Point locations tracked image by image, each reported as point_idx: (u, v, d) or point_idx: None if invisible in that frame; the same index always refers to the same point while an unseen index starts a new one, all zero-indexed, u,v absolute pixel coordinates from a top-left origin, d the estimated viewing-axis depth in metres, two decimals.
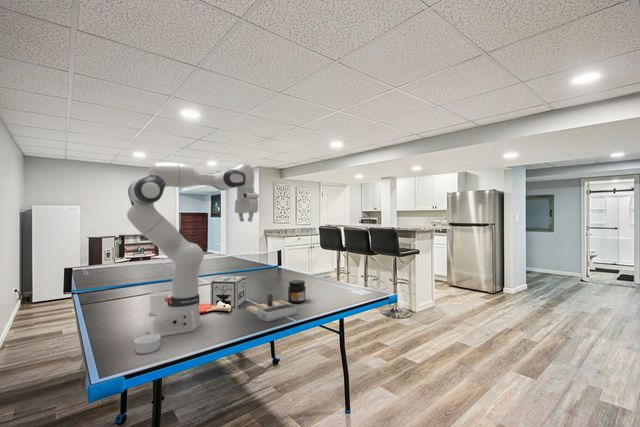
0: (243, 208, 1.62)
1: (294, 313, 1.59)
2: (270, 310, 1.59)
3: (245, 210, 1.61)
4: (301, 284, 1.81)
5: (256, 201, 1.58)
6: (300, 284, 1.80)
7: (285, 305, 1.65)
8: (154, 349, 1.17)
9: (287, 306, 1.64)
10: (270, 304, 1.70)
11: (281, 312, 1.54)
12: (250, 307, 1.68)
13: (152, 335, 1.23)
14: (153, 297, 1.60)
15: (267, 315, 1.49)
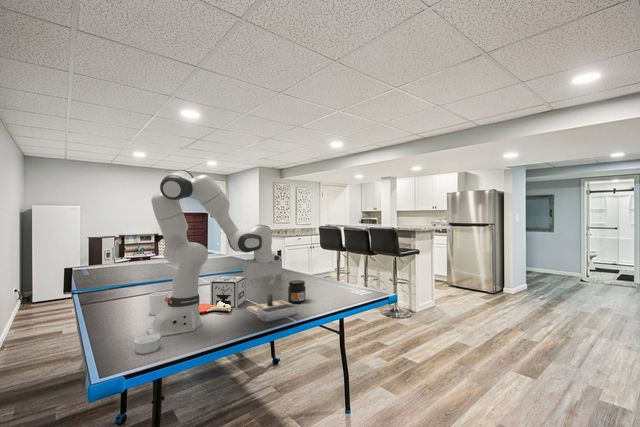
0: (267, 271, 1.52)
1: (294, 313, 1.59)
2: (270, 310, 1.59)
3: (270, 273, 1.53)
4: (301, 284, 1.81)
5: None
6: (300, 284, 1.80)
7: (285, 305, 1.65)
8: (154, 349, 1.17)
9: (287, 306, 1.64)
10: (270, 304, 1.70)
11: (281, 312, 1.54)
12: (250, 307, 1.68)
13: (152, 335, 1.23)
14: (153, 297, 1.60)
15: (267, 315, 1.49)
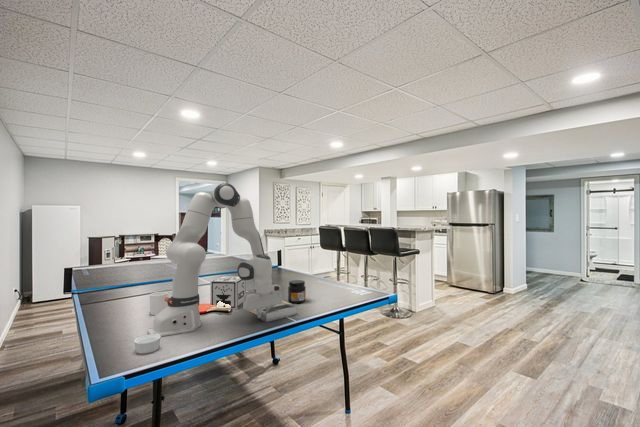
0: (267, 302, 1.52)
1: (294, 313, 1.59)
2: (270, 310, 1.59)
3: (270, 304, 1.53)
4: (301, 284, 1.81)
5: None
6: (300, 284, 1.80)
7: (285, 305, 1.65)
8: (154, 349, 1.17)
9: (287, 306, 1.64)
10: None
11: (281, 312, 1.54)
12: None
13: (152, 335, 1.23)
14: (153, 297, 1.60)
15: (267, 315, 1.49)
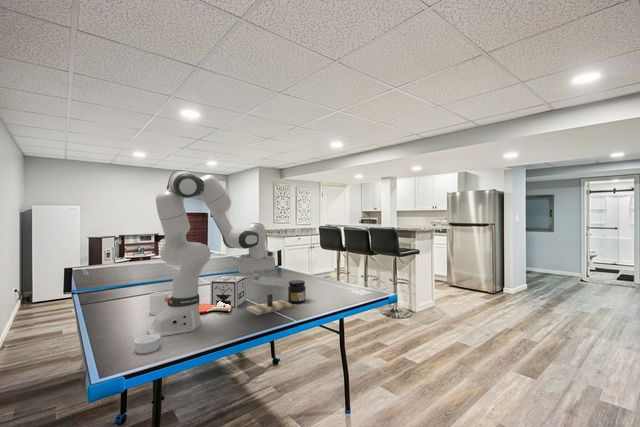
0: (261, 266, 1.64)
1: (285, 284, 1.70)
2: None
3: (264, 268, 1.65)
4: (301, 284, 1.81)
5: None
6: (300, 284, 1.80)
7: (278, 277, 1.76)
8: (154, 349, 1.17)
9: None
10: (270, 304, 1.70)
11: (274, 280, 1.66)
12: (250, 307, 1.68)
13: (152, 335, 1.23)
14: (153, 297, 1.60)
15: (261, 278, 1.61)
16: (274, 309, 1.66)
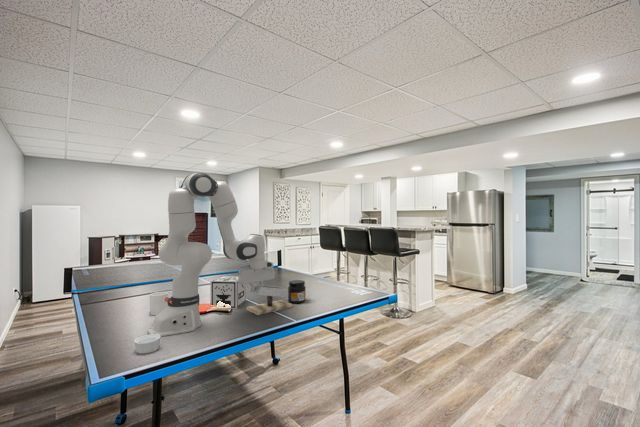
0: (260, 277, 1.65)
1: (284, 295, 1.72)
2: None
3: (263, 278, 1.67)
4: (301, 284, 1.81)
5: None
6: (300, 284, 1.80)
7: (277, 288, 1.78)
8: (154, 349, 1.17)
9: (279, 289, 1.77)
10: (270, 304, 1.70)
11: (273, 290, 1.67)
12: (250, 307, 1.68)
13: (152, 335, 1.23)
14: (153, 297, 1.60)
15: (260, 288, 1.62)
16: (274, 309, 1.66)
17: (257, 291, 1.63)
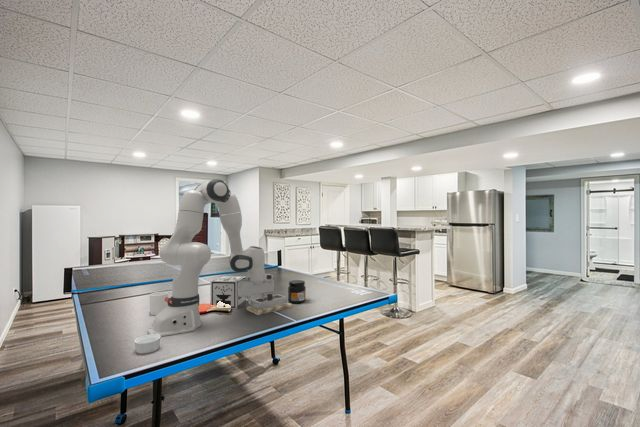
0: (260, 289, 1.65)
1: (284, 303, 1.73)
2: None
3: (263, 291, 1.67)
4: (301, 284, 1.81)
5: None
6: (300, 284, 1.80)
7: (276, 296, 1.78)
8: (154, 349, 1.17)
9: (278, 297, 1.78)
10: None
11: (272, 302, 1.67)
12: (250, 307, 1.68)
13: (152, 335, 1.23)
14: (153, 297, 1.60)
15: (259, 304, 1.62)
16: (274, 309, 1.66)
17: (257, 307, 1.63)
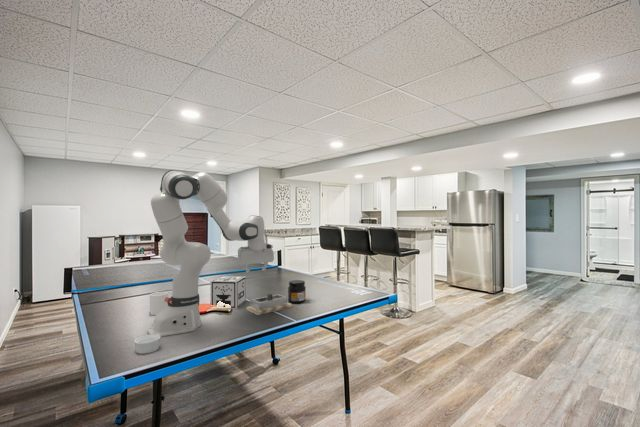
0: (259, 259, 1.66)
1: (284, 303, 1.73)
2: (262, 300, 1.72)
3: (263, 260, 1.67)
4: (301, 284, 1.81)
5: None
6: (300, 284, 1.80)
7: (276, 296, 1.78)
8: (154, 349, 1.17)
9: (278, 297, 1.78)
10: None
11: (272, 302, 1.67)
12: (250, 307, 1.68)
13: (152, 335, 1.23)
14: (153, 297, 1.60)
15: (259, 304, 1.62)
16: (274, 309, 1.66)
17: (257, 307, 1.63)
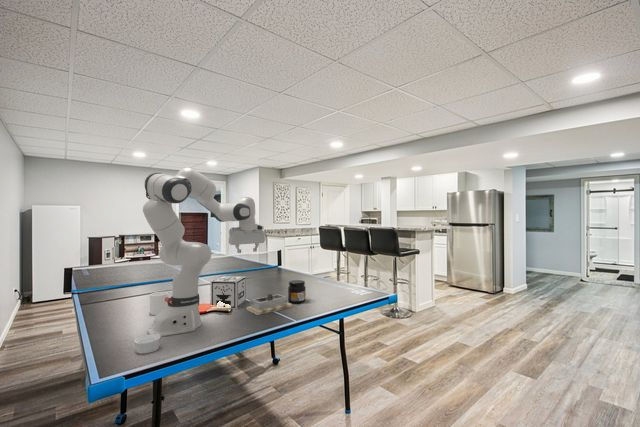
0: (250, 239, 1.70)
1: (284, 303, 1.73)
2: (262, 300, 1.72)
3: (254, 241, 1.71)
4: (301, 284, 1.81)
5: None
6: (300, 284, 1.80)
7: (276, 296, 1.78)
8: (154, 349, 1.17)
9: (278, 297, 1.78)
10: None
11: (272, 302, 1.67)
12: (250, 307, 1.68)
13: (152, 335, 1.23)
14: (153, 297, 1.60)
15: (259, 304, 1.62)
16: (274, 309, 1.66)
17: (257, 307, 1.63)
